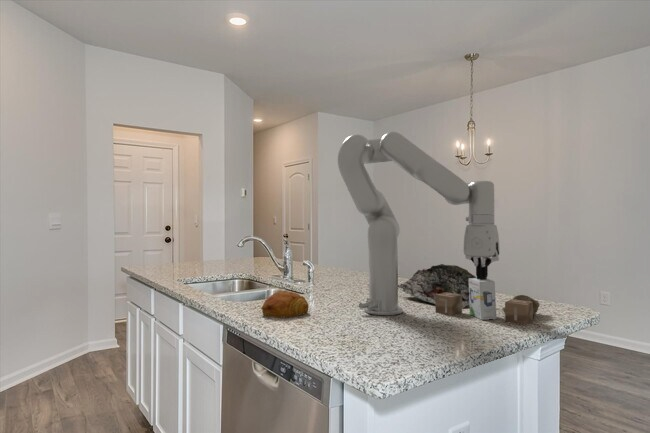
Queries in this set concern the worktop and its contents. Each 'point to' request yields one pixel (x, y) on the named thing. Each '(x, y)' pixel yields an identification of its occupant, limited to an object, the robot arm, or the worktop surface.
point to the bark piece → (439, 283)
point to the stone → (526, 298)
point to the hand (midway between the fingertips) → (481, 278)
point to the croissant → (285, 305)
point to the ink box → (482, 298)
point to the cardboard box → (448, 303)
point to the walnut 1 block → (519, 312)
